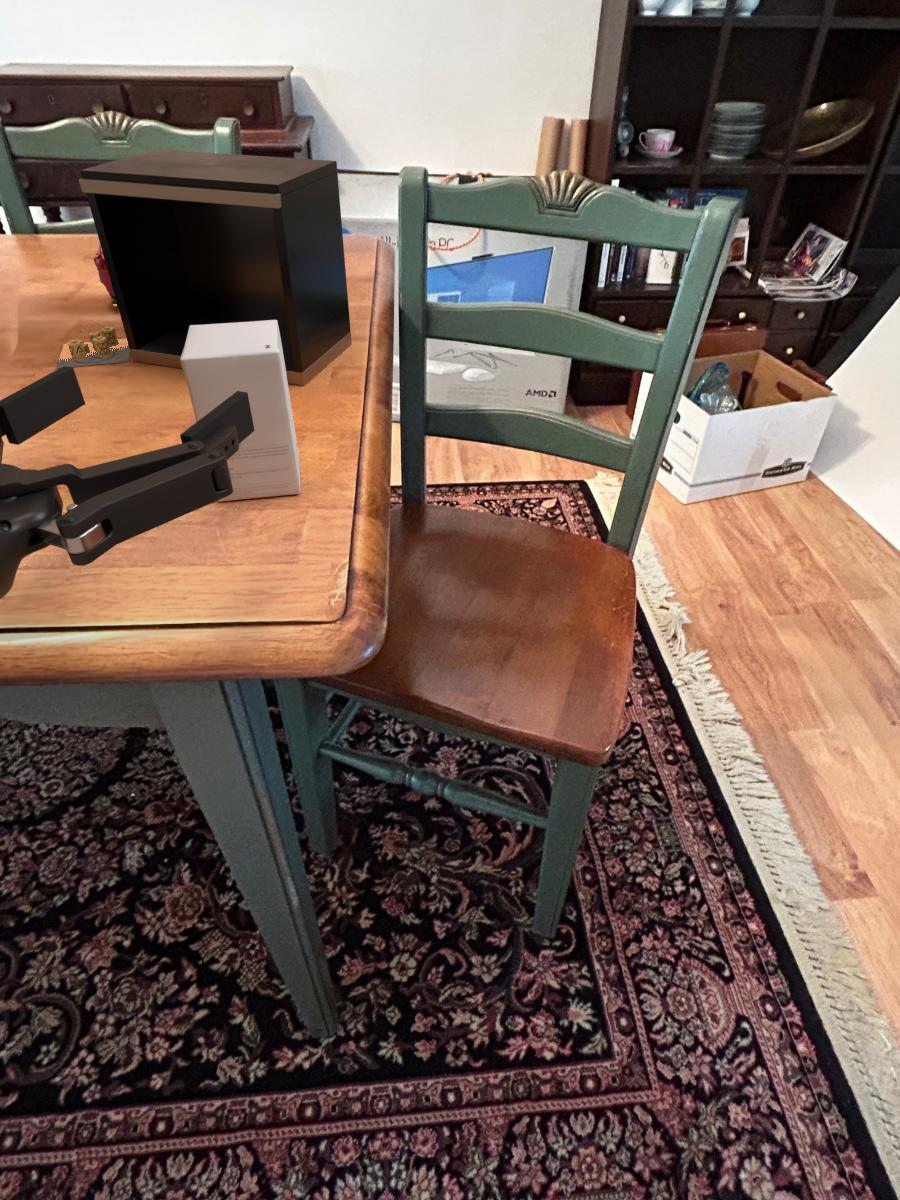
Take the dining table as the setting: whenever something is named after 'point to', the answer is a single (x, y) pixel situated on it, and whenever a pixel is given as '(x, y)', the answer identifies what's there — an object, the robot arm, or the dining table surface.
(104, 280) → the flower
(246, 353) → the white packaging box
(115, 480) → the robot arm
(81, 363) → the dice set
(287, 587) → the dining table surface
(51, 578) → the dining table surface
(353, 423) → the dining table surface
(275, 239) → the open cubby shelf
